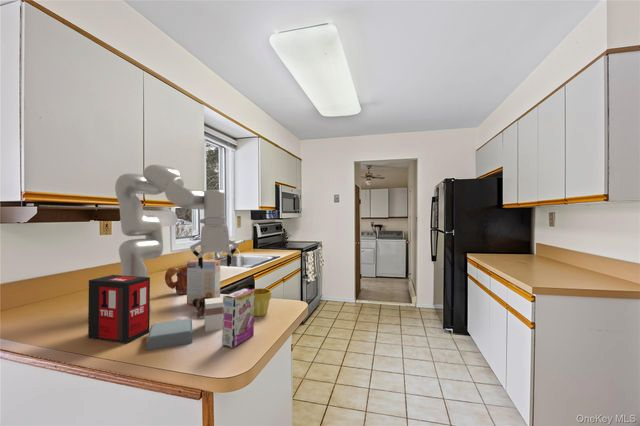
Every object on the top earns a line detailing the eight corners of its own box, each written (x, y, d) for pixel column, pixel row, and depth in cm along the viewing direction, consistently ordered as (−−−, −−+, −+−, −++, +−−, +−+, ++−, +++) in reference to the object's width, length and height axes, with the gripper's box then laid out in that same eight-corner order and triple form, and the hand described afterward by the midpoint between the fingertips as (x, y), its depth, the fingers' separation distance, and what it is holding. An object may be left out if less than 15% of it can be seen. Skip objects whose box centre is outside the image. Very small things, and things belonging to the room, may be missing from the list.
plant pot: (246, 319, 116) (246, 295, 116) (246, 310, 126) (247, 288, 126) (271, 317, 119) (271, 293, 119) (270, 309, 129) (270, 287, 129)
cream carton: (205, 331, 104) (205, 304, 104) (204, 324, 110) (204, 299, 110) (222, 329, 106) (223, 302, 106) (220, 322, 113) (221, 297, 113)
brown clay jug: (222, 310, 128) (221, 297, 124) (209, 327, 119) (208, 313, 115) (199, 302, 130) (197, 289, 126) (184, 317, 122) (182, 304, 118)
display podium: (146, 350, 89) (147, 337, 89) (151, 334, 101) (151, 323, 101) (192, 342, 95) (192, 330, 95) (191, 328, 106) (191, 317, 106)
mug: (188, 290, 159) (188, 263, 159) (196, 292, 154) (196, 265, 154) (161, 296, 147) (161, 267, 147) (169, 299, 142) (169, 269, 142)
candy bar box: (234, 349, 90) (234, 297, 91) (221, 346, 92) (222, 295, 92) (254, 335, 101) (255, 289, 101) (243, 333, 103) (243, 287, 103)
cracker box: (220, 302, 138) (221, 259, 138) (214, 306, 132) (215, 261, 132) (193, 301, 139) (193, 258, 139) (186, 305, 133) (186, 260, 133)
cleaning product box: (88, 338, 97) (88, 280, 98) (112, 328, 106) (112, 274, 106) (127, 343, 94) (128, 283, 94) (149, 332, 102) (149, 277, 102)
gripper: (189, 222, 101) (190, 270, 101) (239, 221, 108) (240, 266, 108) (189, 222, 108) (190, 267, 108) (236, 221, 115) (236, 263, 115)
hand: (215, 267), depth 108 cm, fingers open, 9 cm apart
